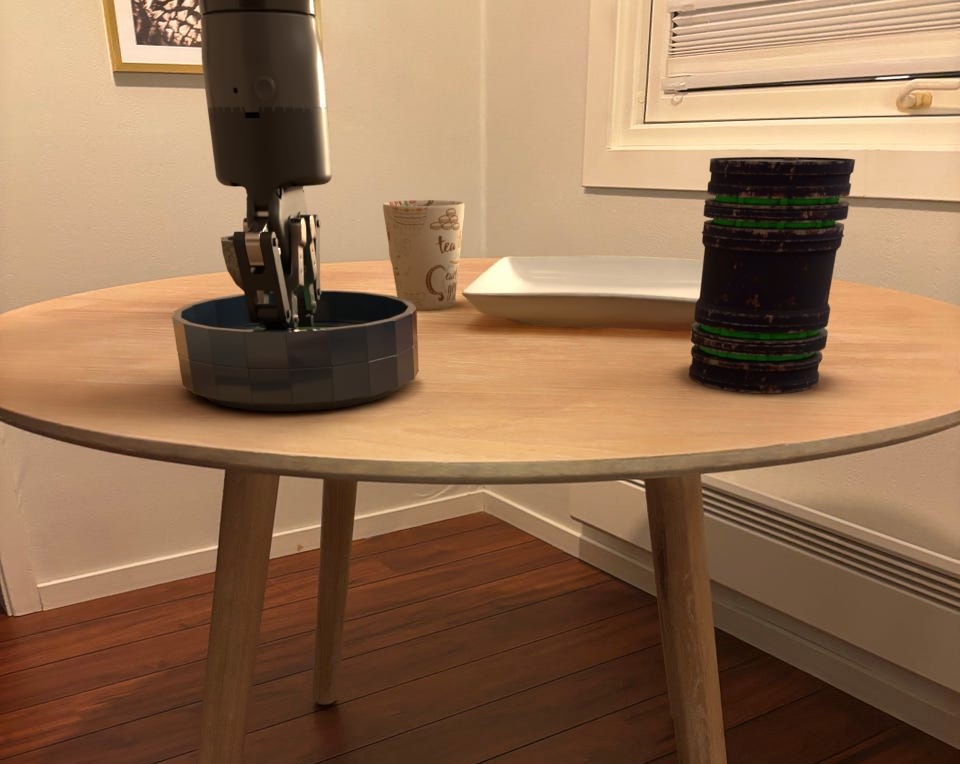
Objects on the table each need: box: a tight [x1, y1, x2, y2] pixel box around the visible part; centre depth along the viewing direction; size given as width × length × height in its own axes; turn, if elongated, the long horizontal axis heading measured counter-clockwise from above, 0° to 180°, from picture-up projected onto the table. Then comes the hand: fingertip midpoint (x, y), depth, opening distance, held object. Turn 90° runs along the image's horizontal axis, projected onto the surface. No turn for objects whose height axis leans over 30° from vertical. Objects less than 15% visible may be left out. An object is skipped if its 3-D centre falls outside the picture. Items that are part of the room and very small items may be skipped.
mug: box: [382, 199, 465, 311], centre depth 101 cm, size 8×13×10 cm, turn 33°
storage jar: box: [688, 156, 856, 394], centre depth 69 cm, size 10×10×15 cm
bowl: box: [171, 289, 420, 412], centre depth 70 cm, size 17×17×6 cm
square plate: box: [461, 255, 704, 332], centre depth 97 cm, size 27×27×4 cm
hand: (294, 373), depth 68 cm, fingers closed on sponge, 4 cm apart
